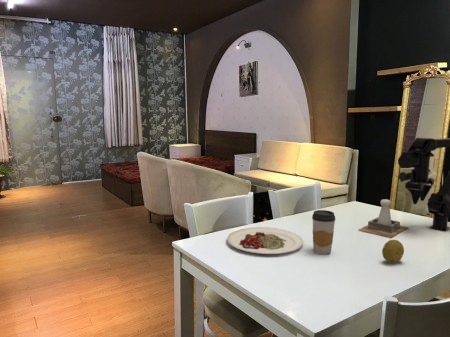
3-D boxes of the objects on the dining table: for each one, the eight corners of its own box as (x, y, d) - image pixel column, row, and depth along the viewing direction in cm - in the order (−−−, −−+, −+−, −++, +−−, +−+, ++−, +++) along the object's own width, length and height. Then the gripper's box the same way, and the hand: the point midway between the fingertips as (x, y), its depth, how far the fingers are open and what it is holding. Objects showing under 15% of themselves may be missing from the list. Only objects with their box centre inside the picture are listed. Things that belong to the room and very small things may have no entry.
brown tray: (377, 221, 172) (377, 214, 172) (408, 228, 162) (408, 220, 162) (358, 230, 158) (358, 222, 158) (390, 238, 148) (391, 230, 148)
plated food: (313, 239, 147) (313, 231, 147) (284, 264, 122) (285, 255, 122) (249, 227, 163) (249, 220, 163) (212, 247, 138) (212, 238, 137)
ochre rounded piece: (396, 258, 127) (398, 237, 126) (405, 262, 123) (407, 240, 122) (378, 261, 124) (380, 239, 123) (387, 266, 121) (389, 243, 120)
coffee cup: (334, 249, 136) (336, 210, 134) (333, 257, 128) (335, 216, 126) (311, 246, 138) (313, 208, 136) (309, 254, 131) (311, 214, 129)
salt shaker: (392, 230, 157) (394, 201, 155) (378, 229, 158) (380, 201, 156) (389, 226, 162) (391, 198, 161) (375, 225, 163) (377, 198, 162)
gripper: (409, 163, 166) (406, 196, 168) (393, 167, 153) (391, 202, 155) (436, 165, 158) (432, 200, 160) (422, 170, 145) (418, 207, 147)
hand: (418, 202), depth 156 cm, fingers open, 9 cm apart
